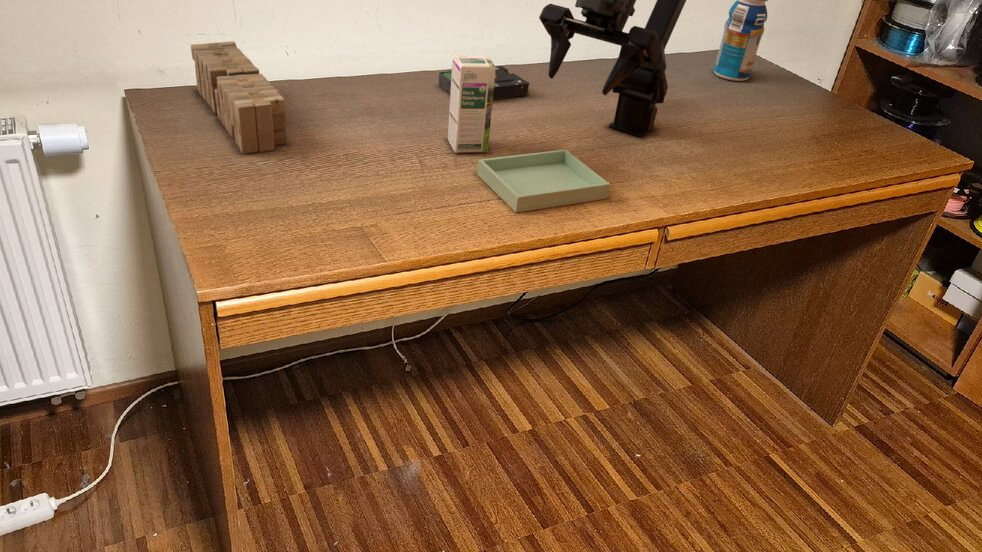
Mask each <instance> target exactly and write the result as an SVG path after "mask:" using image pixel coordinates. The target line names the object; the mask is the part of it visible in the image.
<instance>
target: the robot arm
mask: <svg viewBox="0 0 982 552" xmlns="http://www.w3.org/2000/svg"><path fill="white" fill-rule="evenodd" d="M636 2H637V0H576V1H575V4H574V7H575V8H580V9H581V11H580V14H581V16H582V17H584V18H585V20H580V19H577V18H575V17H574V15H573V13H572V11H571V9H570V7H566V6H565V7H564V6H561V5H558V4H553V3H549V4H546V5H545V6H544V7H543V8H542V10H541V12H540V14H539V16H538V19H539V21H540V22H541V24H542V26H543V27H544V29H545V31H546V32H547V34H548V35H549V37H550V57H549V58H550V59H549V67H548V77H549V79H551V80H552V79H554V77H555V76H556V75H557V74H558V71H559V70H560V68H561V66H562V64H563V62H564V60H565V58H566V56H567V54H568V52H569V50H570V48H571V46H572V43H571V41H570V40H571V39H573V38H574V36H575V34H577V35H580V36H584V37H588V38H592V39H595V40H599V41H602V42H606V43H609V44H613V45H617V46H620V51H619V53H618V57H617V59H616V61H615V63H614V65H613V67H612V68H611V71H610V72H609V74H608V77H607V78H606V80H605V83H604V85H603V88H602V90H601V93H602V95H604V96H607V95H608V94H609V93H610V92H611V91H612V93H613V94H618V98H617V103H616V107H615V108H616V109H615V113H614V119H613V121H612V122H611V123H610V124H609V126H608V127H609V128H610V129H614V130H615V131H619V132H623V133H626V134H628V135H631V136H635V137H636V138H637V137H638V138H641V137H643V136H644V135H646V134H648V133H649V132H650V131H652V130H653V129H654V128H655V122H656V117H657V112H658V106H657V104H664V102H665V98H666V96H667V93H668V89H669V86H668V80H667V76H666V69H667V60H666V59H667V58H666V53H665V52H666V51H665V50H666V48H667V45H668V43H669V41H670V38H671V37H672V34H673V31H674V29H675V27H676V25H677V22H678V20H679V18H680V16H681V13H682V11H683V9H684V7H685V5H686V2H687V0H656V2H655V4H654V7H652V8H653V9H652V11H651V13H650V15H649V17H648V20H647V22H646V24H645V27H640V26H637V25H633V26H632V27H630V29H629V31H628V32H625V31H623V30H624V28H625V27H626V24H627V22H628V19H629V18H630V17H633V16H634V14H635V12H636V8H635V4H636Z"/></svg>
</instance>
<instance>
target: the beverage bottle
mask: <svg viewBox="0 0 982 552" xmlns="http://www.w3.org/2000/svg"><path fill="white" fill-rule="evenodd" d="M768 1H769V0H735V2H734V3H733V4H732V5H731V7H730V8H729V10H728V18H727V20H725V22H724V26H723V29H724V30H723V33H722V37H721V42H720V45H719V48H718V53H717V56H716V60H715V63H714V67H713V73H714V75H715V76H717V77H719V78H721V79H724V80H727V81H733V82H745V81H747V80H749V79H750V77H751V74H752V70H753V66H754V63H755V60H756V56H757V53H758V50H759V46H760V43H761V41H762V36H763V35H764V32H765V23H766V21H767V20H768V7H767V5H766V2H768Z"/></svg>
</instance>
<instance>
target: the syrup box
mask: <svg viewBox="0 0 982 552" xmlns="http://www.w3.org/2000/svg"><path fill="white" fill-rule="evenodd" d="M451 60H452V63H451V71H452V77H451V93H449V94H450V95H449V96H450V97H449V98H450V99H449V111H448V112H449V113H448V128H447V129H448V130H447V141H448V142H449V145H450V146H451V148H452V150H453V152H454V153H455V154H460V153H488V151H489V143H490V130H491V123H492V122H491V120H492V110H493V102H494V101H493V100H494V99H493V91H494V81H495V70H496V65H495V64H494V62H493V61H492V60H491V58H489V56H487V55H480V56H479V55H453V56H452V59H451Z"/></svg>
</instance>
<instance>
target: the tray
mask: <svg viewBox="0 0 982 552" xmlns="http://www.w3.org/2000/svg"><path fill="white" fill-rule="evenodd" d="M476 175H477V176H478V178H480V179H481V180H482V181H483V182H484V183H485V184H486V185H487V186H488V187H489V188H490V189H491V190H492V191H493V192H495V194H497V196H499V198H500V199H501V200H502V201H503V202H505V204H507V205H508V206H509V207H510V208H511V209H512V210H513V211H514V212H515V213H521V212H528V211H534V210H541V209H547V208H555V207H561V206H568V205H575V204H580V203H587V202H594V201H600V200H607V199H608V196H609V191H610V186H611V184H610V182H608V181H607V180H606V179H605V178H603V177H602V176H600V175H599V174H598V173H597V172H595V170H593V169H592V168H591V167H589V166H587V164H585V163H584V162H582V161H581V160H580V159H579V158H578V157H577V156H575V155H574V154H572V153H571V151H569V150H568V149H558V150H557V149H556V150H547V151H540V152H531V153H524V154H523V153H522V154H515V155H507V156H498V157H490V158H481V159H478V160H477V169H476Z"/></svg>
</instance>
